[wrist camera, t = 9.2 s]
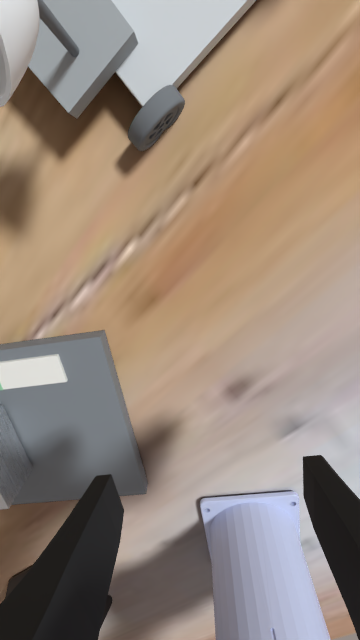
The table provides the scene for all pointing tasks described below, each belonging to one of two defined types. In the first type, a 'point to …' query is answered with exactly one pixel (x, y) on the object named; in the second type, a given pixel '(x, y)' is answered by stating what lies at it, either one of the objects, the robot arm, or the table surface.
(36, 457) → the gauge base
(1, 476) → the plunger
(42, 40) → the toy car
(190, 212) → the table surface
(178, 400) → the table surface
